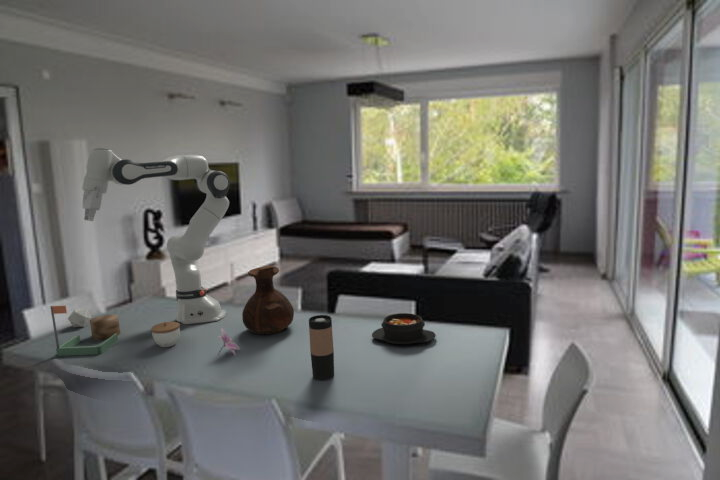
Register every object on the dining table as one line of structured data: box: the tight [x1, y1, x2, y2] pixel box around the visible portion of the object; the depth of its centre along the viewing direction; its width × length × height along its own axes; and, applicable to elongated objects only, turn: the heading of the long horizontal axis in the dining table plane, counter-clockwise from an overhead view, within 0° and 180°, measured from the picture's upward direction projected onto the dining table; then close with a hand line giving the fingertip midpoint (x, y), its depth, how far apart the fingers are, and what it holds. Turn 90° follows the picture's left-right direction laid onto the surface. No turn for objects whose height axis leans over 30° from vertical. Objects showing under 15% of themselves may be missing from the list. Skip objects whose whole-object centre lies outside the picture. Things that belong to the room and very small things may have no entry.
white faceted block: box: [67, 308, 92, 328], centre depth 231 cm, size 8×9×10 cm
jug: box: [241, 265, 295, 335], centre depth 212 cm, size 22×22×30 cm
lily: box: [217, 327, 240, 356], centre depth 191 cm, size 11×11×9 cm
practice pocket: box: [49, 305, 119, 357], centre depth 202 cm, size 17×14×20 cm
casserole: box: [371, 312, 437, 345], centre depth 197 cm, size 25×19×8 cm
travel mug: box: [308, 314, 335, 382], centre depth 166 cm, size 8×8×20 cm
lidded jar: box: [150, 321, 181, 348], centre depth 203 cm, size 11×11×9 cm
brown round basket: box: [89, 314, 121, 341], centre depth 217 cm, size 11×11×8 cm
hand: (88, 220), depth 204 cm, fingers open, 8 cm apart
